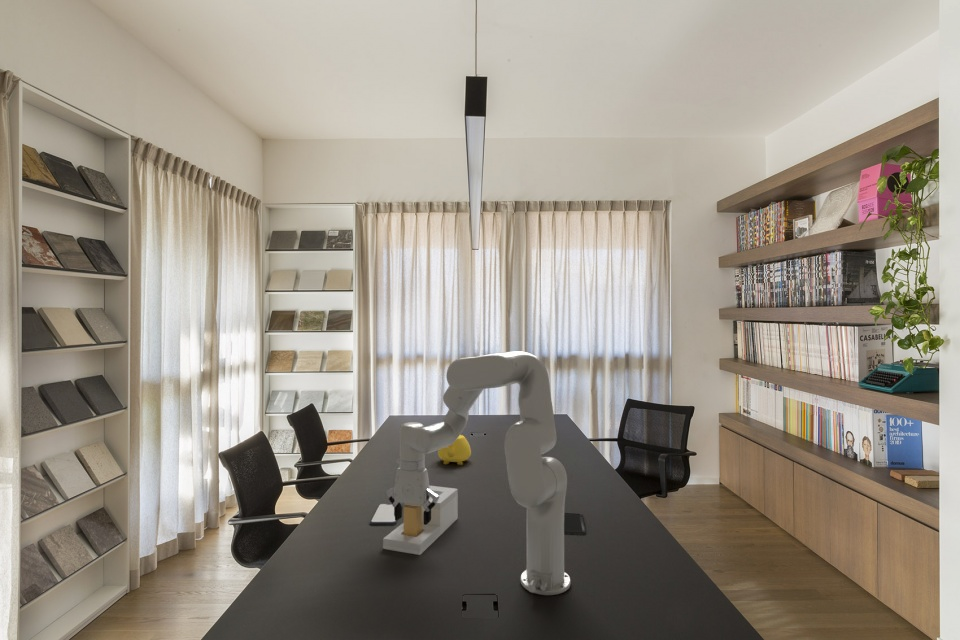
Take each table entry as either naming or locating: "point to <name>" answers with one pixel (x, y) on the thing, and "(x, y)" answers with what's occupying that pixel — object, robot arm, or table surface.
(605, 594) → the table surface
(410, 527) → the plug
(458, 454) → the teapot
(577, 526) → the phone
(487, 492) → the table surface
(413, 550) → the white stepped socket block
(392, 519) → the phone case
